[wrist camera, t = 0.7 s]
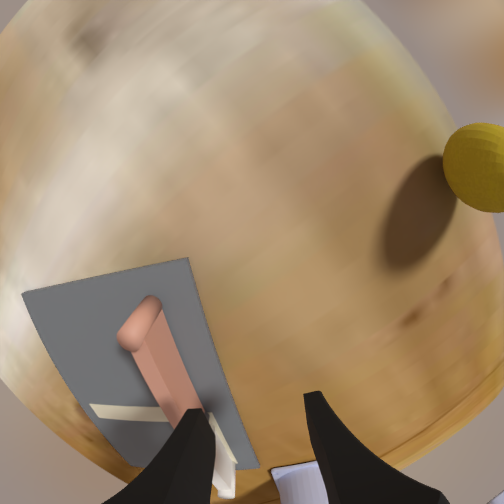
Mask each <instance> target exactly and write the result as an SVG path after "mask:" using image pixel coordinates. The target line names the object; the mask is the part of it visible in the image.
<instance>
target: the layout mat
mask: <svg viewBox="0 0 504 504" xmlns="http://www.w3.org/2000/svg"><path fill="white" fill-rule="evenodd" d="M21 295H22V297H23V300H24V302H25V305H26V307H27V310H28V312H29V314H30V317H31V319H32V321H33V323H34V326H35V328H36V330H37V332H38V334H39V336H40V338H41V340H42V342H43V344H44V346H45V348H46V350H47V352H48V354H49V355H50V357H51V359H52V361H53V363H54V364H55V366H56V368H57V370H58V371H59V373H60V375H61V376H62V378H63V379H64V381H65V383H66V384H67V386H68V387H69V389H70V391H71V392H72V394H73V395H74V397H75V398H76V399H77V401H78V402H79V404H80V405H81V407H82V408H83V409H84V411H85V412H86V414H87V415H88V416H89V418H90V419H91V420H92V422H93V423H94V424H95V425H96V427H97V428H98V429H99V430H100V432H101V433H102V434H103V435H104V437H105V438H106V439H107V440H108V441H109V442H110V444H111V445H112V446H113V447H114V448H115V449H116V450H117V452H118V453H119V454H120V455H121V456H122V457H123V458H124V459H125V460H126V461H127V462H128V463H129V464H130V465H131V466H135V467H143V468H146V467H147V466H148V464H149V463H150V462H151V461H152V460H153V458H154V457H155V456H156V455H157V453H158V452H159V451H160V450H161V448H162V447H163V445H164V444H165V443H166V441H167V440H168V438H169V437H170V435H171V434H172V432H173V431H174V428H173V427H172V425H171V424H170V422H169V421H168V419H167V417H166V416H165V414H164V412H163V411H162V409H161V407H160V406H159V404H158V402H157V401H156V399H155V397H154V395H153V394H152V392H151V390H150V388H149V386H148V385H147V383H146V381H145V379H144V377H143V375H142V373H141V371H140V369H139V367H138V365H137V363H136V361H135V359H134V357H133V355H132V353H131V351H128V350H125V349H124V348H123V347H121V346H120V344H119V343H118V341H117V333H118V331H119V330H120V328H121V327H122V326H123V324H124V323H125V322H126V321H127V319H128V318H129V317H130V315H131V314H132V313H133V311H134V310H135V309H136V308H137V306H138V305H139V304H140V302H141V301H142V300H143V299H144V297H146V296H148V295H153V296H155V297H157V298H158V299H159V300H160V301H161V303H162V310H163V313H164V315H165V318H166V321H167V324H168V326H169V329H170V331H171V334H172V337H173V339H174V342H175V344H176V347H177V349H178V352H179V354H180V357H181V359H182V361H183V364H184V366H185V369H186V371H187V373H188V375H189V378H190V380H191V382H192V384H193V387H194V389H195V391H196V393H197V395H198V398H199V400H200V402H201V404H202V406H203V408H204V410H205V411H206V412H207V413H208V414H209V415H210V418H209V424H210V426H211V428H212V430H213V432H214V433H215V435H216V457H215V465H214V473H213V480H212V483H213V484H214V486H215V487H216V488H217V489H218V497H220V498H223V499H233V498H235V470H244V469H255V468H260V464H259V462H258V459H257V457H256V455H255V452H254V450H253V448H252V445H251V443H250V440H249V438H248V436H247V433H246V431H245V428H244V426H243V423H242V421H241V418H240V415H239V413H238V410H237V408H236V405H235V402H234V400H233V397H232V394H231V392H230V389H229V386H228V383H227V381H226V378H225V375H224V372H223V369H222V366H221V364H220V361H219V358H218V355H217V352H216V349H215V346H214V343H213V340H212V337H211V333H210V330H209V327H208V324H207V321H206V318H205V314H204V311H203V308H202V305H201V301H200V298H199V294H198V291H197V288H196V284H195V281H194V277H193V274H192V270H191V266H190V263H189V259H188V257H187V258H182V259H177V260H172V261H167V262H163V263H158V264H153V265H148V266H143V267H138V268H134V269H129V270H124V271H119V272H115V273H110V274H105V275H100V276H96V277H91V278H86V279H81V280H77V281H72V282H67V283H63V284H58V285H54V286H49V287H44V288H40V289H35V290H31V291H26V292H24V293H22V294H21Z"/></svg>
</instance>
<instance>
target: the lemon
mask: <svg viewBox="0 0 504 504" xmlns="http://www.w3.org/2000/svg"><path fill="white" fill-rule="evenodd" d="M443 170H444V174H445V177H446V180H447V182H448V184H449V186H450V188H451V189H452V191H453V192H454V194H455V195H456V196H457V197H458V198H459V199H460V200H461V201H462V202H464V203H465V204H467V205H469V206H471V207H473V208H475V209H477V210H480V211H483V212H492V213H494V212H495V213H500V212H504V127H501V126H499V125H494V124H489V123H474V124H470V125H467V126H464V127H462V128H460V129H458V130H457V131H456V132H455V133H454V134H453V135H452V136H451V137H450V138H449V140H448V142H447V144H446V146H445V149H444V153H443Z"/></svg>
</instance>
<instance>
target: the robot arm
mask: <svg viewBox="0 0 504 504" xmlns="http://www.w3.org/2000/svg"><path fill="white" fill-rule="evenodd" d="M303 395H304V403H305V411H306V419H307V425H308V430H309V435H310V440H311V445H312V448H313V451H314V454H315V457H316V460H317V461H313V462H308V463H303V464H298V465H292V466H286V467H279V468H273V469H272V470H271V473H272V476H273V478H274V481H275V483H276V486H277V488H278V491H279V493H280V501H281V504H450V503H449V502H448V500H447V499H446V497H445V496H444V495H443V494H442V492H441V491H439V490H437V489H434V488H431V487H429V486H426V485H424V484H422V483H419V482H418V481H416V480H414V479H412V478H410V477H408V476H406V475H404V474H403V473H401V472H399V471H398V470H396V469H395V468H393V467H391V466H390V465H388V464H387V463H385V462H384V461H383V460H381V459H380V458H379V457H377V456H376V455H375V454H374V453H372V452H371V451H370V450H369V449H368V448H367V447H365V446H364V445H363V444H362V443H361V442H360V441H359V440H358V439H357V438H356V437H355V436H354V435H353V434H352V433H351V432H350V431H349V430H348V428H347V427H346V426H345V425H344V424H343V423H342V421H341V420H340V419H339V418H338V417H337V415H336V414H335V413H334V411H333V410H332V409H331V407H330V406H329V404H328V403H327V401H326V399H325V398H324V396H323V394H322V392H321V391H314V392H310V393H305V394H303ZM215 457H216V435H215V433H214V432H213V430H212V428H211V426H210V424H209V422H208V420H207V418H206V416H205V414H204V412H203V410H202V408H194V409H187V410H186V412H185V413H184V415H183V416H182V418H181V420H180V421H179V423H178V424H177V426H176V428H175V429H174V431H173V432H172V434H171V435H170V437H169V438H168V440H167V441H166V443H165V444H164V445H163V447H162V448H161V450H160V451H159V452H158V453H157V455H156V456H155V457H154V458H153V460H152V461H151V462H150V463H149V464H148V466H147V467H146V468H145V469H144V470H143V471H142V472H141V473H140V474H139V475H138V476H137V477H136V478H135V479H134V480H133V481H132V482H131V483H129V484H128V485H127V486H126V487H125V488H124V489H122V490H121V491H120V492H118V493H117V494H116V495H114V496H113V497H111V498H110V499H108V500H107V501H105V502H104V503H102V504H210V495H211V488H212V480H213V473H214V465H215ZM487 504H504V490H503V491H502V492H501V493H499V494H498V495H497V496H496V497H494V498H493V499H492V500H490V501H489V502H488V503H487Z"/></svg>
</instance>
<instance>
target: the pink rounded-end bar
mask: <svg viewBox="0 0 504 504" xmlns="http://www.w3.org/2000/svg"><path fill="white" fill-rule="evenodd" d="M117 341H118V343H119V344H120V346H121V347H123V348H124V349H125V350H128V351H131V353H132V355H133V357H134V359H135V361H136V363H137V365H138V367H139V369H140V371H141V373H142V375H143V377H144V379H145V381H146V383H147V385H148V386H149V388H150V390H151V392H152V394H153V395H154V397H155V399H156V401H157V402H158V404H159V406H160V407H161V409H162V411H163V412H164V414H165V416H166V417H167V419H168V421H169V422H170V424H171V425H172V427H173V428H174V429H175V428H176V426H177V424H178V423H179V421H180V420H181V418H182V416H183V415H184V413H185V412H186V410H187V409H194V408H202V410H203V412H204V414H205V416H206V418H207V420H208V422H209V418H210V415H209V414H208V413H207V412H206V411H205V410H204V408H203V406H202V404H201V402H200V400H199V398H198V395H197V393H196V391H195V389H194V387H193V384H192V382H191V380H190V378H189V375H188V373H187V371H186V369H185V366H184V364H183V361H182V359H181V357H180V354H179V352H178V349H177V347H176V344H175V342H174V339H173V337H172V334H171V331H170V329H169V326H168V324H167V321H166V318H165V315H164V313H163V310H162V303H161V301H160V300H159V299H158V298H157V297H155V296H153V295H148V296H146V297H144V299H143V300H142V301H141V302H140V304H139V305H138V306H137V308H136V309H135V310H134V311H133V313H132V314H131V315H130V317H129V318H128V319H127V321H126V322H125V323H124V324H123V326H122V327H121V328H120V330H119V331H118V333H117Z"/></svg>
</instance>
